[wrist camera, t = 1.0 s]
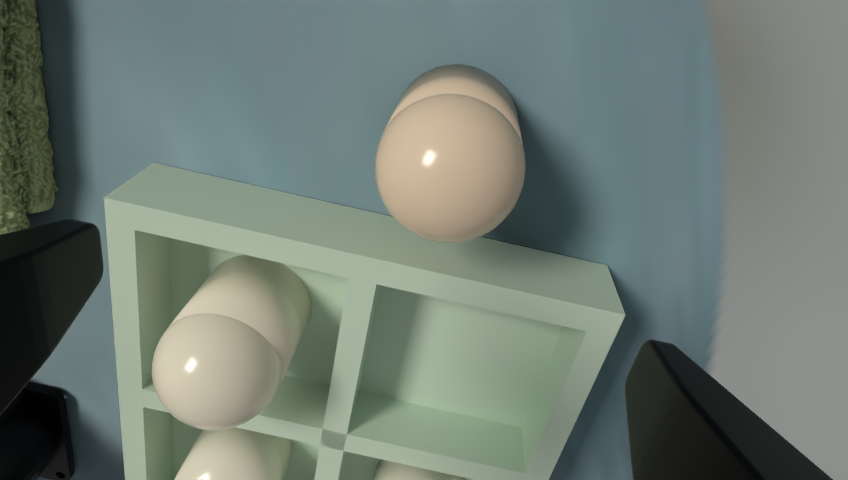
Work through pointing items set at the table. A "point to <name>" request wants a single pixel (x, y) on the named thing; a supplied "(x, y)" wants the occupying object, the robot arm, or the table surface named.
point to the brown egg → (451, 155)
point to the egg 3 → (408, 472)
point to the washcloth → (22, 119)
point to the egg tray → (363, 333)
